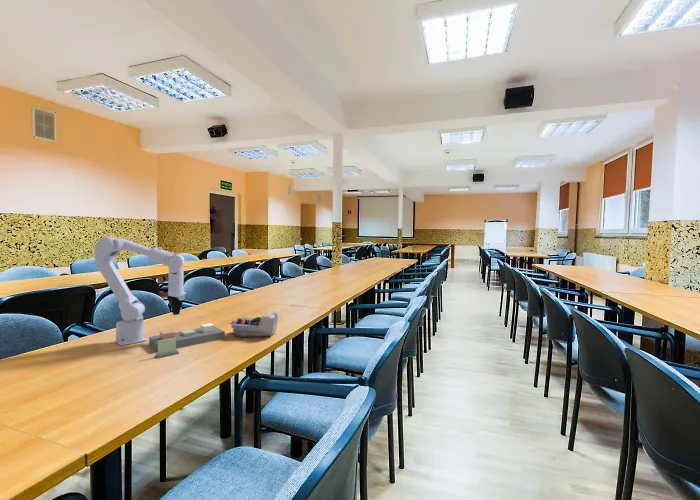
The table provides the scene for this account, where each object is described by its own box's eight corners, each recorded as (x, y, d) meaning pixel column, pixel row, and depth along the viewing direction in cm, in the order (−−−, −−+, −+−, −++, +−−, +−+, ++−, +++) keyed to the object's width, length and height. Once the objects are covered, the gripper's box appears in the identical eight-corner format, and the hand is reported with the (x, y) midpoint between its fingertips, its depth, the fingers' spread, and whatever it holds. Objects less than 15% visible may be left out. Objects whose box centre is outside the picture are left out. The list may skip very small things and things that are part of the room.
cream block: (204, 336, 145) (204, 326, 144) (200, 333, 148) (200, 324, 148) (214, 334, 148) (214, 325, 148) (210, 331, 151) (210, 323, 151)
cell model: (274, 314, 147) (227, 315, 147) (274, 338, 148) (228, 339, 147) (279, 307, 160) (236, 308, 160) (279, 330, 161) (237, 330, 160)
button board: (158, 352, 129) (158, 344, 129) (149, 344, 137) (149, 337, 137) (224, 338, 147) (224, 331, 147) (213, 332, 156) (213, 325, 155)
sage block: (184, 343, 139) (184, 333, 139) (180, 340, 142) (180, 331, 142) (195, 340, 142) (195, 331, 142) (191, 338, 145) (191, 329, 145)
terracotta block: (163, 344, 133) (163, 334, 133) (159, 341, 136) (159, 331, 136) (175, 341, 136) (175, 332, 136) (171, 339, 140) (171, 329, 139)
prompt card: (158, 358, 123) (157, 342, 122) (155, 355, 125) (155, 340, 125) (178, 353, 128) (178, 338, 127) (175, 351, 130) (175, 336, 130)
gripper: (192, 284, 142) (192, 316, 143) (180, 280, 152) (180, 310, 153) (174, 285, 137) (174, 318, 138) (162, 281, 147) (162, 312, 148)
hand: (176, 314), depth 145 cm, fingers closed
